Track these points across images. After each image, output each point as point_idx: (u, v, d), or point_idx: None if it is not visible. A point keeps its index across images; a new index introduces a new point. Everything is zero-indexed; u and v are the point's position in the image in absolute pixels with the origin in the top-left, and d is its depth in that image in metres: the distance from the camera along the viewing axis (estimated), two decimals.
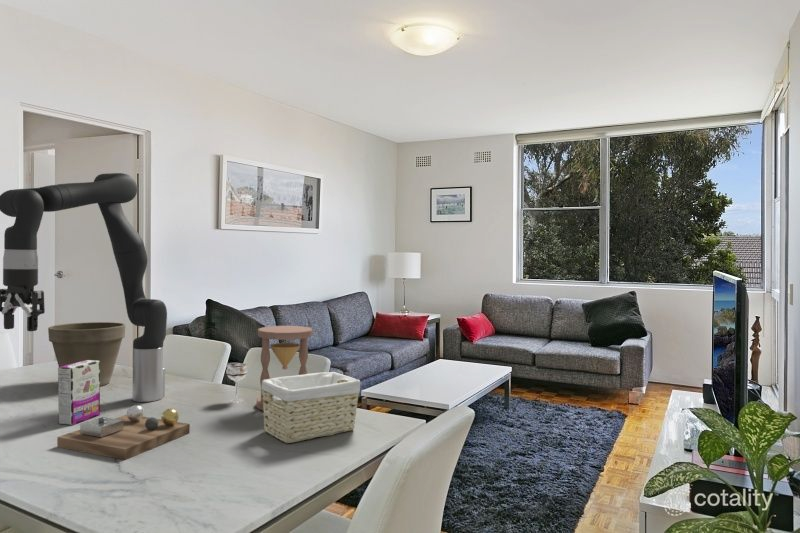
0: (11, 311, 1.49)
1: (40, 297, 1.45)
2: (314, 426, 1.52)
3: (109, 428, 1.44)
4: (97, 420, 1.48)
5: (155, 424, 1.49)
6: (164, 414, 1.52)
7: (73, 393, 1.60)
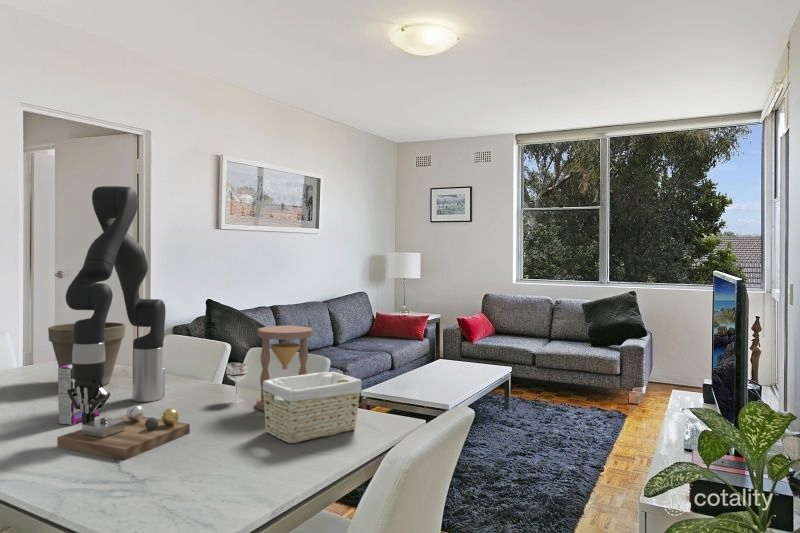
0: None
1: (104, 399, 1.46)
2: (316, 426, 1.52)
3: (111, 428, 1.44)
4: (99, 420, 1.47)
5: (155, 424, 1.49)
6: (164, 414, 1.52)
7: None
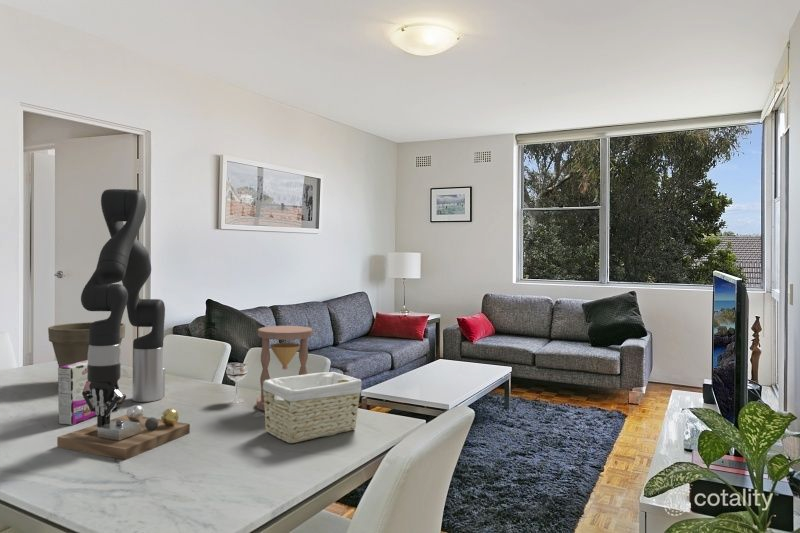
0: None
1: (120, 401, 1.44)
2: (316, 426, 1.52)
3: (127, 431, 1.42)
4: (114, 423, 1.46)
5: (155, 424, 1.49)
6: (164, 414, 1.52)
7: (73, 393, 1.60)
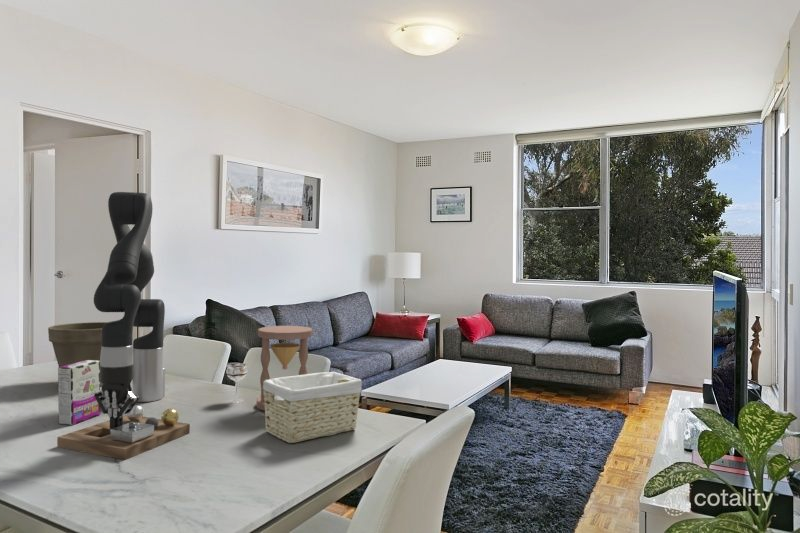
0: None
1: (133, 403, 1.43)
2: (316, 426, 1.52)
3: (140, 433, 1.41)
4: (127, 425, 1.44)
5: (155, 424, 1.49)
6: (164, 414, 1.52)
7: (73, 393, 1.60)
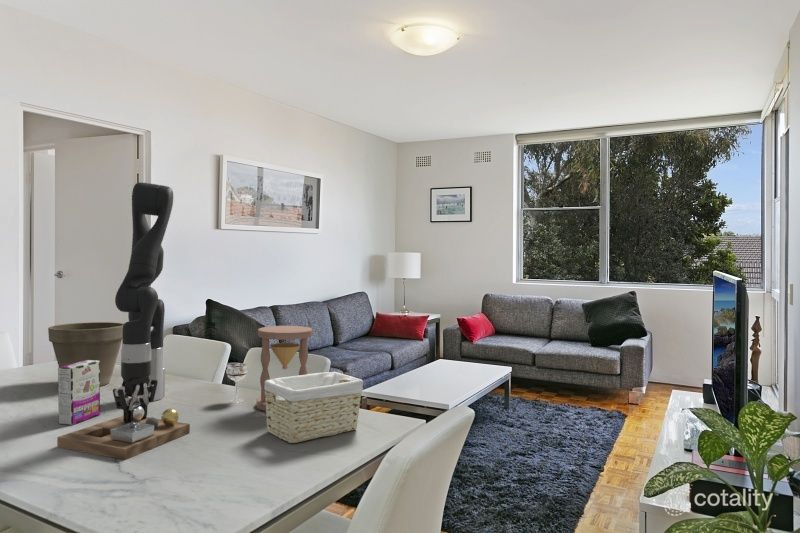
0: (144, 402, 1.59)
1: (118, 396, 1.51)
2: (318, 426, 1.52)
3: (141, 433, 1.41)
4: (127, 425, 1.44)
5: (155, 424, 1.49)
6: (164, 414, 1.52)
7: (73, 393, 1.60)
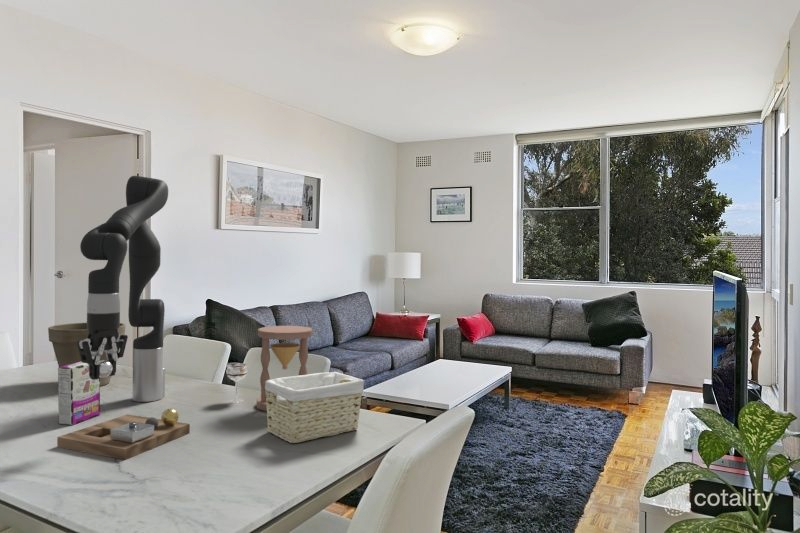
0: (112, 357, 1.48)
1: (82, 348, 1.40)
2: (318, 426, 1.52)
3: (141, 433, 1.41)
4: (127, 425, 1.44)
5: (155, 424, 1.49)
6: (164, 414, 1.52)
7: (73, 393, 1.60)
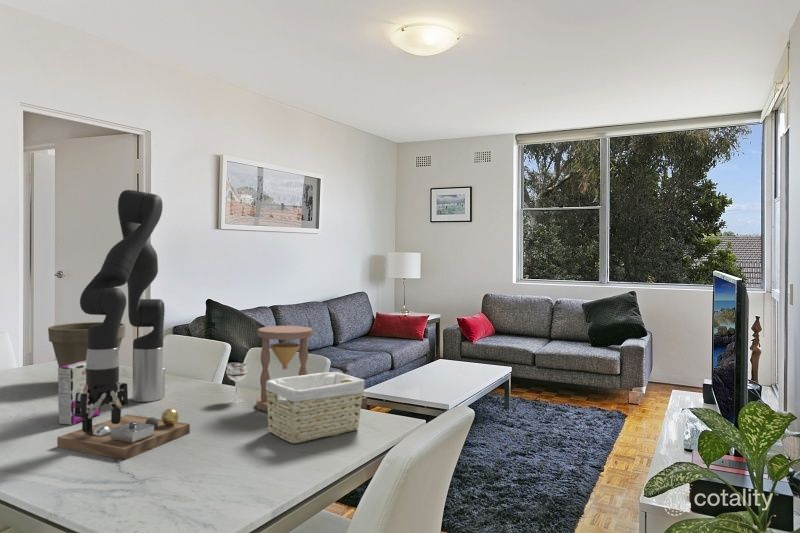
0: (116, 406, 1.50)
1: (79, 400, 1.40)
2: (319, 426, 1.52)
3: (141, 433, 1.41)
4: (127, 425, 1.44)
5: (155, 424, 1.49)
6: (164, 414, 1.52)
7: (73, 393, 1.60)
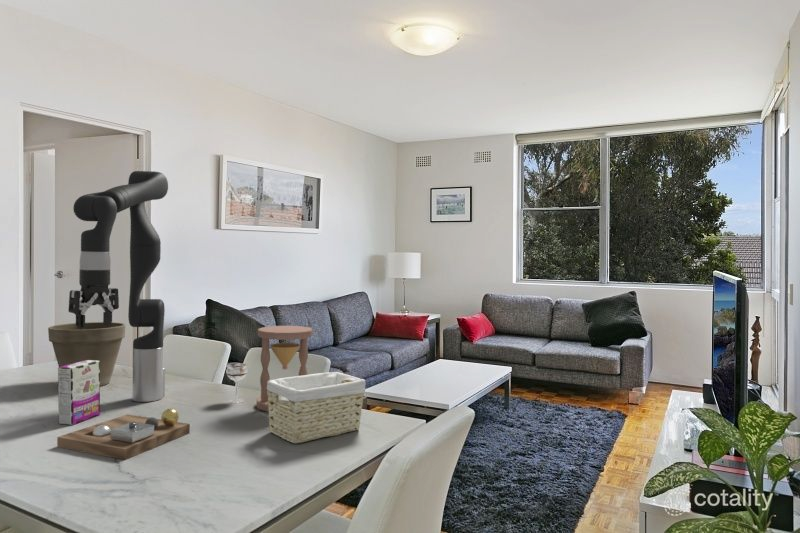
0: (108, 309, 1.61)
1: (73, 296, 1.51)
2: (320, 427, 1.52)
3: (141, 433, 1.41)
4: (127, 425, 1.44)
5: (155, 424, 1.49)
6: (164, 414, 1.52)
7: (73, 393, 1.60)
